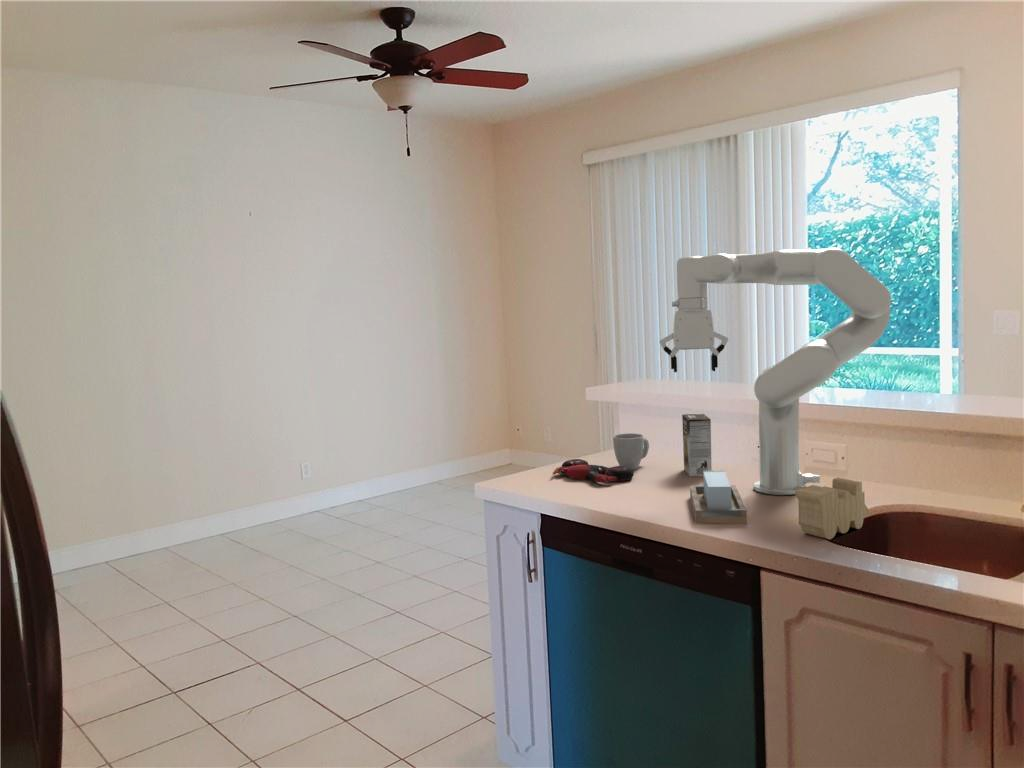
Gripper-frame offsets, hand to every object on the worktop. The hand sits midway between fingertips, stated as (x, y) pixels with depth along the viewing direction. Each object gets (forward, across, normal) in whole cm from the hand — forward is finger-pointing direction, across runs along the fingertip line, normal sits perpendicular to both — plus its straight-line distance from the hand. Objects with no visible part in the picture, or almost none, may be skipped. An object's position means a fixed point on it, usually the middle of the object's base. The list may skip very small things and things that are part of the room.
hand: (694, 371), depth 203 cm
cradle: (+30, +3, -24) cm, 38 cm away
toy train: (+31, +25, -40) cm, 56 cm away
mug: (+31, -17, +23) cm, 42 cm away
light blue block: (+29, +3, -24) cm, 37 cm away
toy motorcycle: (+31, -30, +10) cm, 44 cm away
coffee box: (+31, +1, +15) cm, 34 cm away
